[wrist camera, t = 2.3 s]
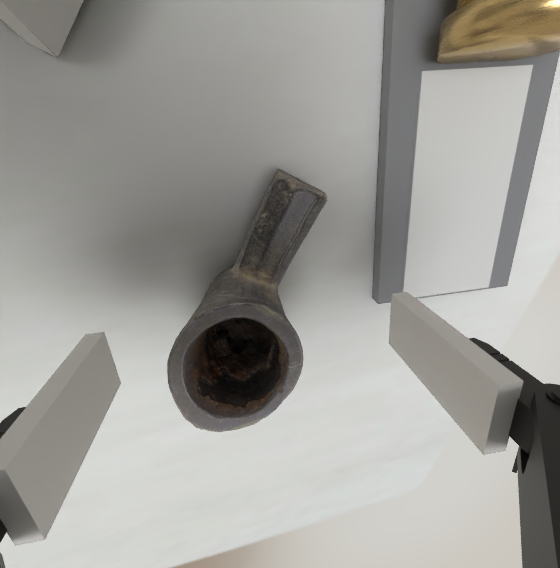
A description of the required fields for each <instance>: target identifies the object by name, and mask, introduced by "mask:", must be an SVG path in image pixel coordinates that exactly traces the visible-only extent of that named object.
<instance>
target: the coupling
mask: <svg viewBox="0 0 560 568" xmlns="http://www.w3.org/2000/svg"><path fill="white" fill-rule="evenodd" d="M557 51H560V0H457V6H456V11H454V12H453V13H451V14H450V15H449V16H447V17H446V18H445V19H444V20H443V21H442V23H441V28H440V38H439V48H438V58H437V61H438V62H439V63H441V64H455V63H473V62H491V61H510V60H516V59H522V58H528V57H533V56H538V55H543V54H548V53H553V52H557Z"/></svg>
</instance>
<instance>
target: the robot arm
mask: <svg viewBox="0 0 560 568" xmlns="http://www.w3.org/2000/svg"><path fill="white" fill-rule="evenodd" d="M389 344H390V345H391V346H392V348H393V349H394V350H395V351H396V352H397V354H398V355H399V356H400V357H401V358H402V359H403V361H404V362H405V363H406V364H407V365H408V366H409V368H410V369H411V370H412V371H413V372H414V374H415V375H416V376H417V377H418V378H419V379H420V381H421V382H422V383H423V384H424V385H425V387H426V388H427V389H428V390H429V391H430V392H431V394H432V395H433V396H434V397H435V398H436V399H437V401H438V402H439V403H440V404H441V405H442V407H443V408H444V409H445V410H446V411H447V412H448V414H449V415H450V416H451V417H452V418H453V420H454V421H455V422H456V423H457V424H458V425H459V427H460V428H461V429H462V430H463V431H464V432H465V434H466V435H467V436H468V437H469V438H470V439H471V441H472V442H473V443H474V444H475V445H476V447H477V448H478V449H479V450H480V451H481V453H482V454H483V455H485V454H491V453H496V452H501V451H505V450H506V447H507V443H508V439H509V436H510V437H511V438H512V439H513V440H514V441H515V442H516V443H517V444H518V445H519V449H518V452H517V456H516V459H515V463H514V466H513V470H512V472H515V473H517V470H518V486H519V504H520V526H521V544H522V545H521V546H522V564H523V568H560V385H556V384H543V383H541V382H540V381H539V380H537V379H536V378H535V377H533V376H532V375H530V374H529V373H528V372H526V371H525V370H523V369H522V368H521V367H519V366H518V365H516V364H515V363H514V362H513V361H509V359H508V358H507V357H505V356H504V355H503V354H500V352H499V351H497V350H496V349H495V348H493V347H492V346H490V345H489V344H487V343H485V342H482V341H480V340H478V339H476V338H470V339H468V338H467V337H465V336H464V335H463V334H462V333H460V332H459V331H458V330H456V329H455V328H454V327H452V326H451V325H450V324H448V323H447V322H446V321H445V320H443V319H442V318H441V317H439V316H438V315H437V314H435V313H434V312H433V311H431V310H430V309H429V308H428V307H426V306H425V305H424V304H422V303H421V302H420V301H418V300H417V299H416V298H414V297H413V296H412V295H411V294H409V293H408V292H402V293H394V294H392V298H391V314H390V331H389ZM120 384H121V382H120V379H119V376H118V373H117V370H116V367H115V364H114V361H113V358H112V355H111V352H110V348H109V345H108V342H107V339H106V336H105V333H104V332H101V333H93V334H86V335H85V336H84V337H83V338H82V340H81V341H80V342H79V343H78V344H77V346H76V347H75V348H74V349H73V351H72V352H71V353H70V354H69V355H68V357H67V358H66V359H65V360H64V362H63V363H62V364H61V365H60V366H59V368H58V369H57V370H56V371H55V373H54V374H53V375H52V376H51V378H50V379H49V380H48V381H47V382H46V384H45V385H44V386H43V387H42V389H41V390H40V391H39V392H38V393H37V395H36V396H35V397H34V398H33V400H32V401H31V402H30V403H29V404H28V406H27V407H23V408H18V409H17V410H16V411H14V412H13V413H12V414H11V415H9V416H8V417H7V418H5V419H4V420H3V421H2V422H1V423H0V542H1V540H2V539H3V537H4V535H5V534H6V532H7V533H8V535H9V537H10V538H11V540H12V541H13V543H14V544H15V545H20V544H25V543H31V542H36V541H41V540H45V539H46V537H47V534H48V532H49V530H50V528H51V526H52V524H53V522H54V520H55V518H56V516H57V514H58V512H59V510H60V508H61V506H62V504H63V502H64V499H65V497H66V495H67V493H68V491H69V489H70V487H71V485H72V483H73V481H74V479H75V477H76V475H77V473H78V471H79V469H80V466H81V464H82V462H83V460H84V458H85V456H86V454H87V452H88V450H89V448H90V446H91V444H92V442H93V440H94V438H95V436H96V433H97V431H98V429H99V427H100V425H101V423H102V421H103V419H104V417H105V415H106V413H107V411H108V409H109V407H110V405H111V403H112V401H113V398H114V396H115V394H116V392H117V390H118V388H119V386H120ZM0 568H5V565H4V561H3V557H2V555H1V553H0Z"/></svg>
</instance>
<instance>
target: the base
mask: <svg viewBox="0 0 560 568" xmlns="http://www.w3.org/2000/svg"><path fill="white" fill-rule="evenodd" d="M456 6H457V0H386V2H385V24H384V47H383V69H382V92H381V114H380V137H379V159H378V182H377V204H376V227H375V250H374V272H373V295H372V298H373V299H374V300H375V301H376V302H377V303H378V304H381V303H389V302H391V298H392V294H394V293H402V292H408V293H409V294H411V295H412V296H413V297H414V298H416V299H417V298H424V297H432V296H439V295H446V294H453V293H460V292H467V291H474V290H482V289H489V288H496V287H503V286H507V285H508V280H509V276H510V271H511V267H512V262H513V258H514V253H515V249H516V244H517V240H518V236H519V231H520V227H521V222H522V218H523V213H524V209H525V204H526V200H527V195H528V191H529V187H530V182H531V178H532V173H533V169H534V164H535V160H536V155H537V151H538V147H539V142H540V138H541V133H542V129H543V124H544V120H545V115H546V111H547V106H548V102H549V98H550V93H551V89H552V84H553V80H554V75H555V71H556V66H557V62H558V57H559V53H560V51H557V52H553V53H548V54H543V55H538V56H533V57H528V58H522V59H516V60H510V61H491V62H473V63H455V64H441V63H439V62H438V61H437V58H438V48H439V38H440V28H441V23H442V21H443V20H444V19H445V18H446V17H447V16H449V15H450V14H451V13H453V12H454V11H456Z"/></svg>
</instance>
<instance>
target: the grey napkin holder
mask: <svg viewBox="0 0 560 568" xmlns="http://www.w3.org/2000/svg"><path fill="white" fill-rule="evenodd" d="M83 1H84V0H0V19H1V20H2V21H3V22H4V23H5V24H6V25H8V26H9V27H10V28H11V29H12V30H13V31H14V32H16V33H17V34H18V35H19V36H20V37H21V38H22V39H23V40H25V41H26V42H27V43H28V44H30V45H32V46H34V47H36V48H38V49H41V50H43V51H45V52H47V53H49V54H51V55H53V56H55V57H57V58H58V56H59V54H60V52H61V50H62V48H63V45H64V43H65V41H66V39H67V36H68V34H69V32H70V30H71V27H72V25H73V23H74V21H75V19H76V16H77V14H78V12H79V10H80V7H81V5H82V3H83Z"/></svg>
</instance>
